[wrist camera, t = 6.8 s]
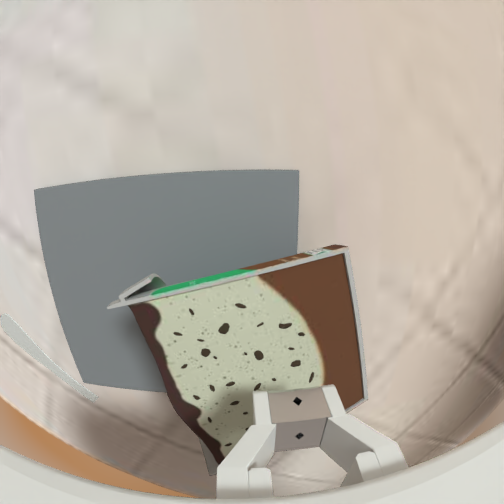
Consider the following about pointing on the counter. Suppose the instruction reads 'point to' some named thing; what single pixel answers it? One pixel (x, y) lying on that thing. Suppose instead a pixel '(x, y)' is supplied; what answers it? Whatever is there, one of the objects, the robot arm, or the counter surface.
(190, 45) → the counter surface
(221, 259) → the mat
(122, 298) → the food container
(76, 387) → the butter knife
